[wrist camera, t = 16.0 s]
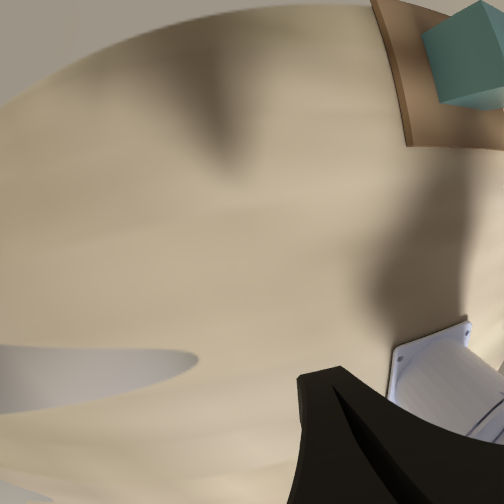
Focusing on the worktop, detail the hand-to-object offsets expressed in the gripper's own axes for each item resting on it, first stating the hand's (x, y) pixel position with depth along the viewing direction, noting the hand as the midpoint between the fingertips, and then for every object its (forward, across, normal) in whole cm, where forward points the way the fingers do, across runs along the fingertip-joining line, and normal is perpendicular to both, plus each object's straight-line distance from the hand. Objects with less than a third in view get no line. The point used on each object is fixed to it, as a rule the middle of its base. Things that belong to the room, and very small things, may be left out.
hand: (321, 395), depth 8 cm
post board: (+9, -15, -13) cm, 22 cm away
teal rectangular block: (+9, -15, -13) cm, 22 cm away
